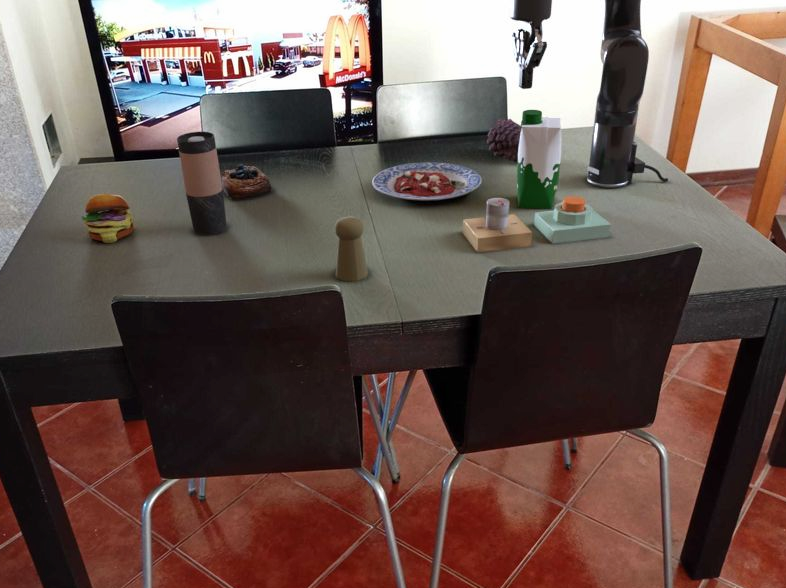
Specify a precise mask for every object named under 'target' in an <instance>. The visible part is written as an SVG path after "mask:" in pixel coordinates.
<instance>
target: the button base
mask: <svg viewBox="0 0 786 588" xmlns="http://www.w3.org/2000/svg"><path fill="white" fill-rule="evenodd" d="M562 204H563V201H561V202H558V203H556V204H555V205H554V208H553V210H547V211H537V212H534V221H533V222H534V223H533V225H534V227H535V228H536V229H537V230H538V231H540V233H541V234H542V235H543V236H544V237H545V238H546V239H547V240H548V241H549V242H550V243H551V244H553V245H554V244H561V243H569V242H579V241H587V240H595V239H597V240H598V239H603V238H604V239H605V238H610V233H611V228H612V223H610V222H609V221H608V220H607V219H605V217H603V216H602V215H600V214H599V213H598V212H597V211H595V210H594V209H593V207H592V206H591V205H589V204H588V203H585V209H584V211H583V212H578V213H573V212H566V211H563V210H562Z"/></svg>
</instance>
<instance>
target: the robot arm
mask: <svg viewBox="0 0 786 588" xmlns="http://www.w3.org/2000/svg"><path fill="white" fill-rule="evenodd" d="M641 3H642V0H604V19H603V28H602V36H601V37H602V38H601V44H600V45H601V46H600V53H599V54H600V60H601V63H602V72H601V78H600V79H601V80H600V87H599V91H598V94H597V96H596V105H595V113H594V121H593V131H592V139H591V147H590V155H589V162H588V163H589V164H588V165H587V169H586V170H587V177H586V182H587V183H588V184H589V185H592V186H594V187H598V188H605V189H614V188H615V189H616V188H622V187H625V186H627V185H631V184H632V183H633V177H634V176H633V175H635V174H643V173H645V169H648V170H651V171H652V172H653V173H655V174H656V176H657V178H658V179H659V180H660V181H661V182H664V183H665V182H668V181H669V178H668V177H666V178H665V177H663V176H662V174H661V172H660V171H659V169H657V168H655V167H654V166H651V165H648V164H646V162H645V161H643V160H641V159H640V158H638V157H637V148H638V143H637V142H636V141H635V137H636V130H637V123H638V117H639V110H640V103H641V100H642V98H643V94H644V90H645V84H646V78H647V73H648V66H649V59H650V57H649V56H650V52H649V46H648V43H647V42H646V41H645V39H644V38H643V36H642V35H643V34H642V25H641V24H642V22H641V21H642V20H641V5H642V4H641ZM552 5H553V0H510V9H509V17H510V19H511V20H512V21H517V24H516V30H515V32H511V35H510V36H511V37H510V38H511V43H512V48H513V53H514V60H515V63H517V64H518V65H517V66H518V68H519V74H518V75H519V77H518V87H519V88H520V89H522V90H528V89H532V87H533V81H534V80H533V79H534V69H536V68H538V67H539V66H540V64H541V62H542V60H543V57H544V55H545V53H546V50H547V47H548V43H547V41H543V33H544V31H543V21H547V20H548V19H550V18H551V15H552V7H553V6H552Z"/></svg>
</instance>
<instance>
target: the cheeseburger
mask: <svg viewBox="0 0 786 588" xmlns="http://www.w3.org/2000/svg"><path fill="white" fill-rule="evenodd" d="M130 209H131V206H130V205H129V203H128V202H127V200H125V198H124V197H122V196H121V195H119V194H109V193H100V194H96V195H92V196H90V198H89V199H88V200H87V203H86V205H85V210H84V211H85V213H86V214H85V215H83V216H81V220H82V221H83V224H84V225H86V230H88V235H89V237H90V239H93V240H95V241H99V242H103V243H106V244H113V243H115V242H117V241H118V240H119V239H123V238H124V237H127V236H128V235H130V234H131V233H132V232H134V231H135V230H134V229H135V227H134V224H135V220H134V218H133V215H132V213H131V211H128V210H130Z"/></svg>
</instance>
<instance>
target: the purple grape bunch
mask: <svg viewBox="0 0 786 588" xmlns="http://www.w3.org/2000/svg"><path fill="white" fill-rule="evenodd" d="M496 121H497V122H496V123H495V124H494V125H492V126H491V127H490V129H489V132H488V133H487V137H488V138H487V139H486V144H487V145H489V148H488V150H489V151H490V152H493V155H494V156H496V157H499V156H501V158H502V159H506V160H508V161H512V162H518V148H519V141H520V135H521V124H518V123H517V122H515V121H514V120H513V119H512V118H508V117H503V118H501V119H499V118H497V119H496Z"/></svg>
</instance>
